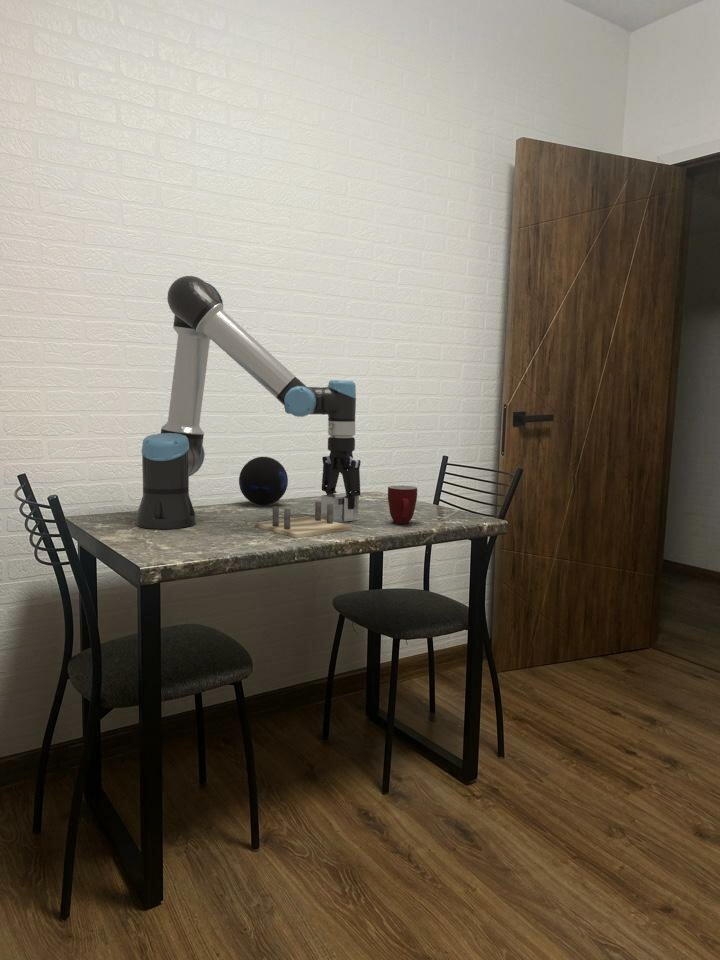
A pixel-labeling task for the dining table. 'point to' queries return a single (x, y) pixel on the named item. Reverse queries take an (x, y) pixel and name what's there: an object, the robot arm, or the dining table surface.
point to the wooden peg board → (303, 523)
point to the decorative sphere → (263, 480)
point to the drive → (337, 506)
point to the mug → (402, 503)
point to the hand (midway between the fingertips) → (340, 518)
